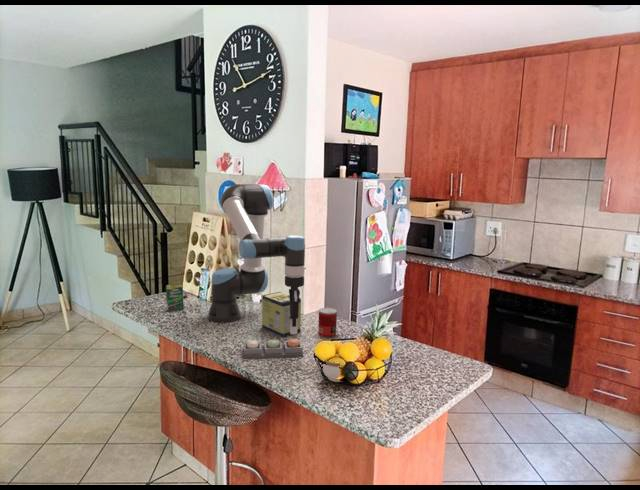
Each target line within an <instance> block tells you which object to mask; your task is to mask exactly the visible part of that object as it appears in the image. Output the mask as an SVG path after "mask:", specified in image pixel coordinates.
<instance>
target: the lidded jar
mask: <svg viewBox="0 0 640 490" xmlns="http://www.w3.org/2000/svg"><path fill="white" fill-rule="evenodd" d="M326 363H327V365H325V364H323V368H322V371H323V374H324V375H325V376H326V378H327V380H329V381H332V382H335V383H339V382H342V381H340V380H336V379H335V378H338V377H339V376H340V373H341V372H340V369H339V367H338V366H340V363H335V362H330V361H326Z"/></svg>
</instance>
